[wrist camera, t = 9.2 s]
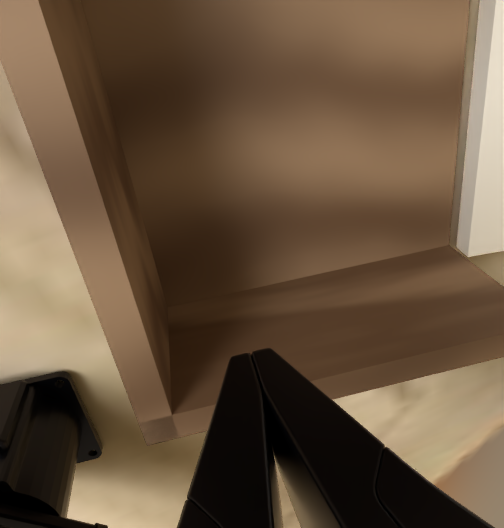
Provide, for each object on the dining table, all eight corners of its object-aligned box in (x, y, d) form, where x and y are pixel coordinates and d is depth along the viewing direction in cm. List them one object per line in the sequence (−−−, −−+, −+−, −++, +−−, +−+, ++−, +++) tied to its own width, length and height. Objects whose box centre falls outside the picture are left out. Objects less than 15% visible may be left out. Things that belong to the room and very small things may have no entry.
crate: (437, 256, 25) (544, 346, 18) (149, 320, 24) (147, 445, 17) (474, -261, 15) (740, -495, 8) (-16, -207, 14) (-190, -440, 7)
